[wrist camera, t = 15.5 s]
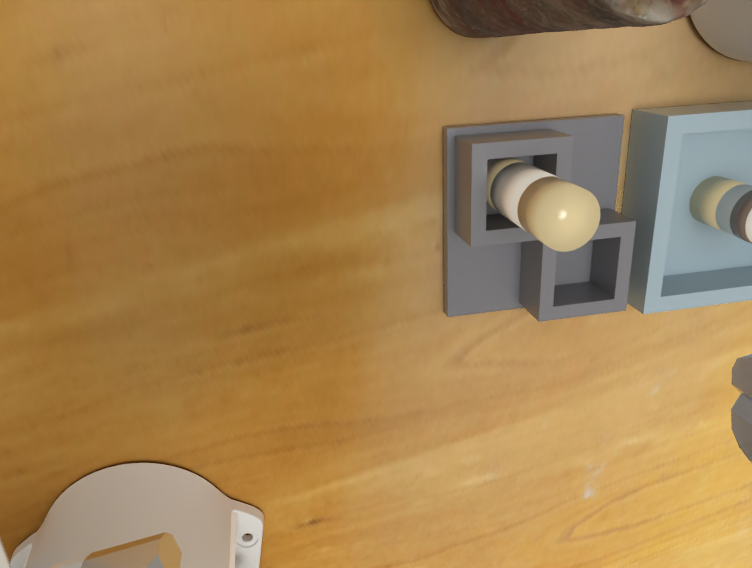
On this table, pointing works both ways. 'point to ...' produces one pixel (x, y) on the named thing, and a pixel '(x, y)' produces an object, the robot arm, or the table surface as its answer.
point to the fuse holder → (516, 246)
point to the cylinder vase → (726, 27)
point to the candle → (556, 15)
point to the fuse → (542, 203)
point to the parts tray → (685, 206)
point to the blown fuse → (724, 206)
